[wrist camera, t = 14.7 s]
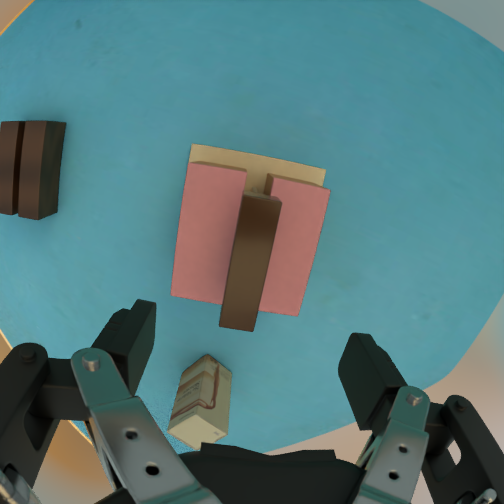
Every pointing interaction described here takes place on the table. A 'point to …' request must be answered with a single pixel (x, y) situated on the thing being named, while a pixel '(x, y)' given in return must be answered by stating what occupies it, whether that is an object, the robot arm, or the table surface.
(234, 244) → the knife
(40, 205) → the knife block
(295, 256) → the pink slotted holder
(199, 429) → the cosmetic box
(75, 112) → the table surface
